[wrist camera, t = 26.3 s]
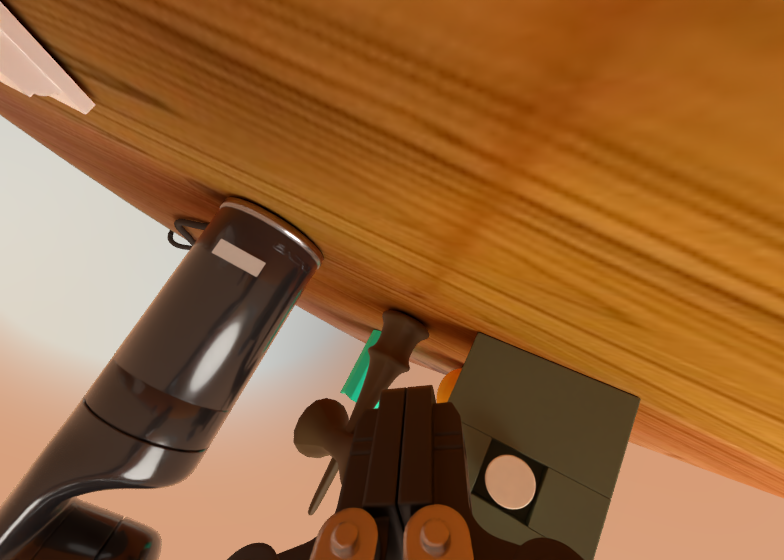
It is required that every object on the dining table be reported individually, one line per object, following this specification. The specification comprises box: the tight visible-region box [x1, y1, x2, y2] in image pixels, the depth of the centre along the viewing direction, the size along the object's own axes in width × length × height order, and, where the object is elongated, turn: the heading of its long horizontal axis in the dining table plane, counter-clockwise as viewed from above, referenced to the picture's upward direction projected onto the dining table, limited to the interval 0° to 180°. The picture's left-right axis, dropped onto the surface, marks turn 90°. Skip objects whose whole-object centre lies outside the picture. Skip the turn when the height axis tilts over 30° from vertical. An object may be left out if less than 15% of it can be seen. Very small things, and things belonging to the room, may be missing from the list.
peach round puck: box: [485, 455, 536, 509], centre depth 26 cm, size 2×3×3 cm
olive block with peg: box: [447, 332, 640, 560], centre depth 28 cm, size 6×12×20 cm, turn 106°
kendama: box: [294, 310, 429, 515], centre depth 36 cm, size 6×10×20 cm, turn 134°
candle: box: [341, 330, 381, 409], centre depth 57 cm, size 6×6×12 cm
